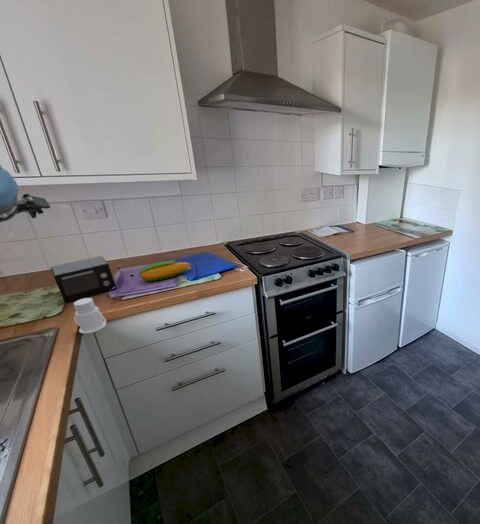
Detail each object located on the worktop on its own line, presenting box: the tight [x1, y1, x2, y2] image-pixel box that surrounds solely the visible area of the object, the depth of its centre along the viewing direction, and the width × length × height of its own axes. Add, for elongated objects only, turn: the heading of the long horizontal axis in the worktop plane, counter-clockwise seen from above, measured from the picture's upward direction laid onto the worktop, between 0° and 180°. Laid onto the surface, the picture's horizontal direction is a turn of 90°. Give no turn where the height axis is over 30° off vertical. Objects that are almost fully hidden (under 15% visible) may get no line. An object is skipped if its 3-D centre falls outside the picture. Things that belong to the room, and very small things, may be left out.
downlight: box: [72, 297, 107, 334], centre depth 97 cm, size 8×7×10 cm
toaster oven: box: [50, 255, 117, 304], centre depth 119 cm, size 13×16×12 cm
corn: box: [139, 260, 192, 282], centre depth 133 cm, size 7×8×20 cm
